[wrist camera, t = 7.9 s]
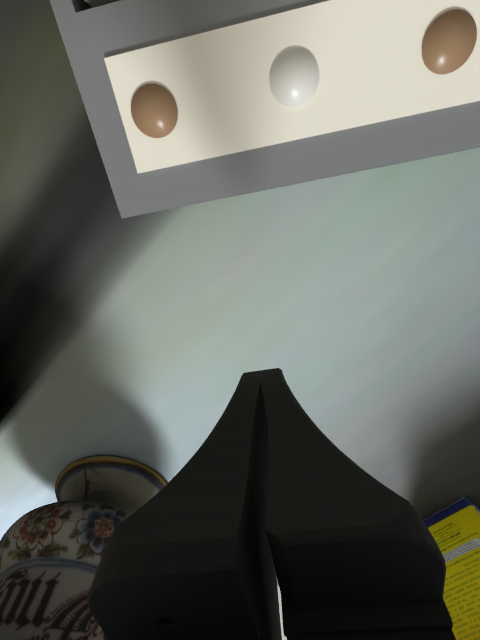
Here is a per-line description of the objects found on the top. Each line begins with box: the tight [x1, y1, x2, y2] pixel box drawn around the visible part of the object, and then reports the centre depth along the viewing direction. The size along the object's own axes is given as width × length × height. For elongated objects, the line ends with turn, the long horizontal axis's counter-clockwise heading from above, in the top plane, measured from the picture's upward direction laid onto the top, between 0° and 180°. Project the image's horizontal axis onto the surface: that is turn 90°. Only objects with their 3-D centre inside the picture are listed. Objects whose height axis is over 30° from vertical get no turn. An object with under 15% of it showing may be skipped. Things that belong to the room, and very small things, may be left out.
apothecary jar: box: [0, 456, 167, 640], centre depth 21 cm, size 12×12×18 cm
